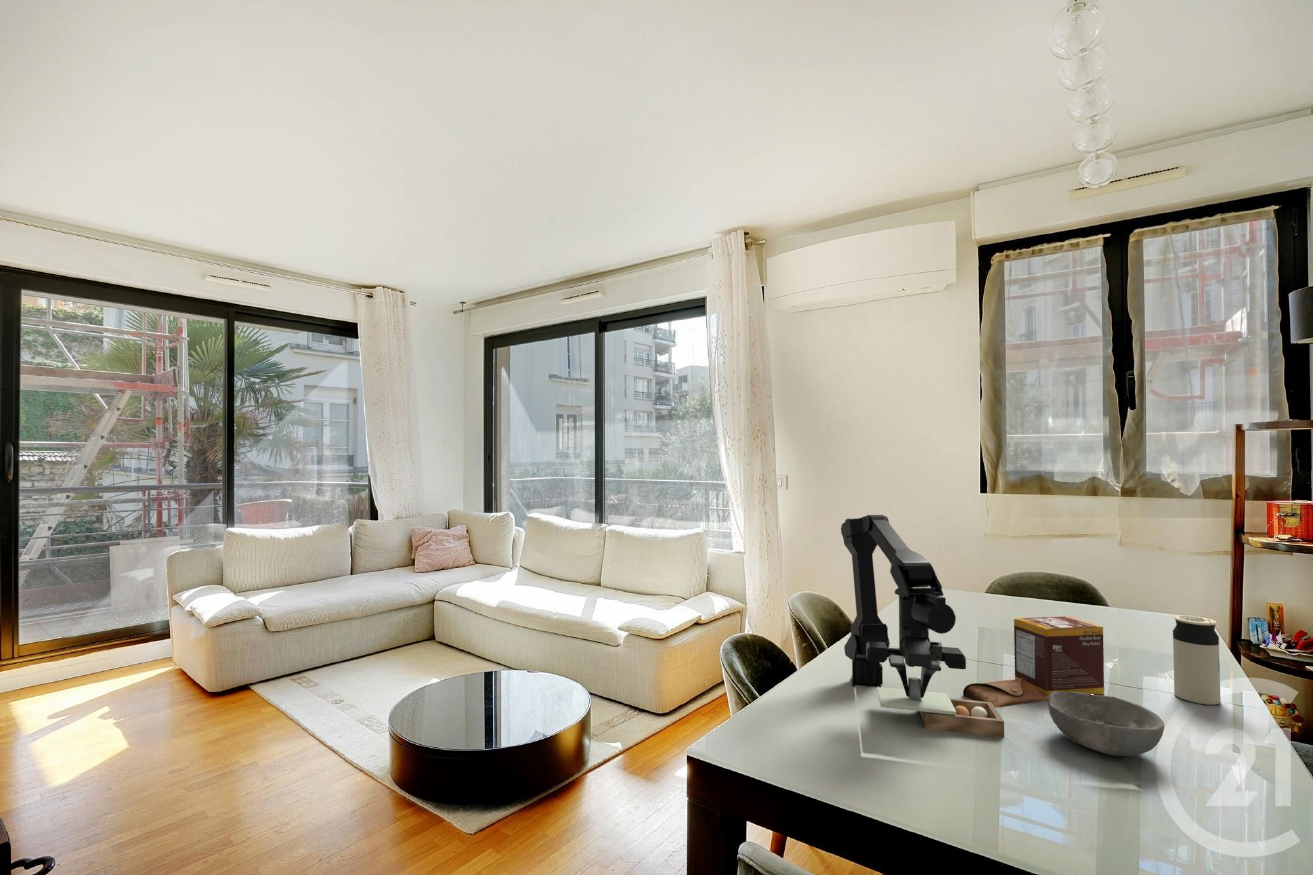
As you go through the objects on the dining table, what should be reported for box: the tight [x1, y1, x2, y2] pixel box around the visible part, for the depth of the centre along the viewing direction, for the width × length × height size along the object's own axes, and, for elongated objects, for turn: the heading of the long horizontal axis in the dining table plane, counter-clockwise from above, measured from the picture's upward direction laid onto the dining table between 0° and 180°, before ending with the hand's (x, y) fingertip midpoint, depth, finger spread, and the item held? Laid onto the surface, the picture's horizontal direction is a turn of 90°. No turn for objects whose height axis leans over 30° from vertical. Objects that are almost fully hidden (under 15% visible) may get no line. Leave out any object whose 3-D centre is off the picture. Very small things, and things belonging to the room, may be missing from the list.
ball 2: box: [971, 707, 988, 718], centre depth 128 cm, size 3×3×3 cm
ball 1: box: [955, 706, 969, 716], centre depth 128 cm, size 3×3×3 cm
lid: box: [876, 676, 956, 715], centre depth 130 cm, size 14×10×5 cm
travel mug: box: [1172, 614, 1222, 706], centre depth 143 cm, size 8×8×18 cm
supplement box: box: [1013, 615, 1105, 698], centre depth 150 cm, size 10×15×16 cm
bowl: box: [1047, 691, 1165, 757], centre depth 118 cm, size 18×18×8 cm
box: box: [919, 697, 1005, 738], centre depth 128 cm, size 14×10×4 cm
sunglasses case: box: [962, 678, 1048, 709], centre depth 142 cm, size 18×7×7 cm
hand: (914, 696), depth 130 cm, fingers closed on lid, 2 cm apart
